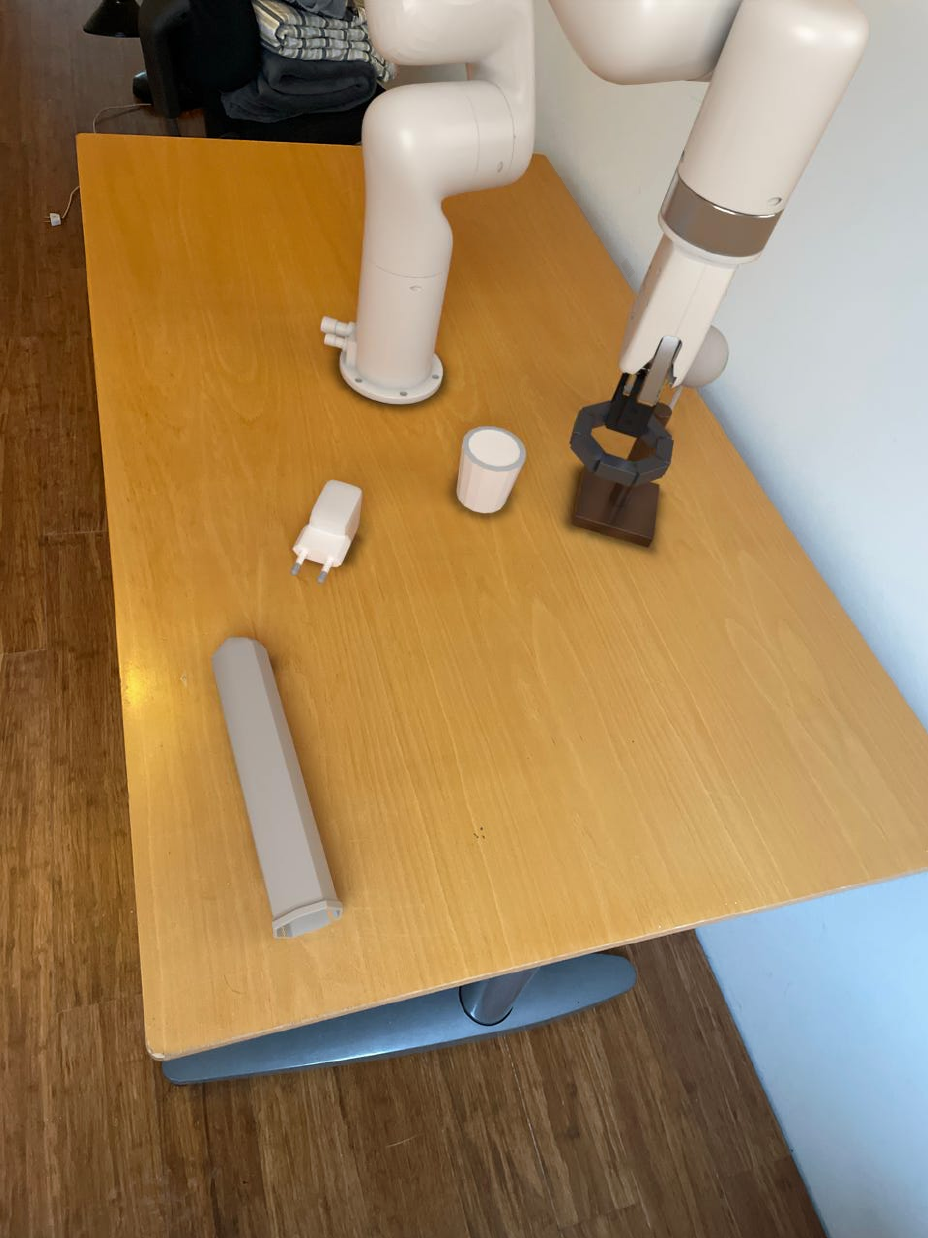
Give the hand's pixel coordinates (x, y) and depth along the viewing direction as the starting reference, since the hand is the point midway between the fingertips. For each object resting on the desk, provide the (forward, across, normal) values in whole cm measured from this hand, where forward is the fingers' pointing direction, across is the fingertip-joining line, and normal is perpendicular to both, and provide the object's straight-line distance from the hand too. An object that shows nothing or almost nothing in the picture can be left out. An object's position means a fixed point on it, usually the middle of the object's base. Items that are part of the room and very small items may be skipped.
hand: (624, 421), depth 69 cm
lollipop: (+21, -28, +8) cm, 36 cm away
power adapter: (+21, +8, -23) cm, 32 cm away
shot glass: (+21, -8, -10) cm, 25 cm away
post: (+21, -12, +5) cm, 25 cm away
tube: (+21, +32, -19) cm, 42 cm away
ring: (0, +3, 0) cm, 3 cm away
